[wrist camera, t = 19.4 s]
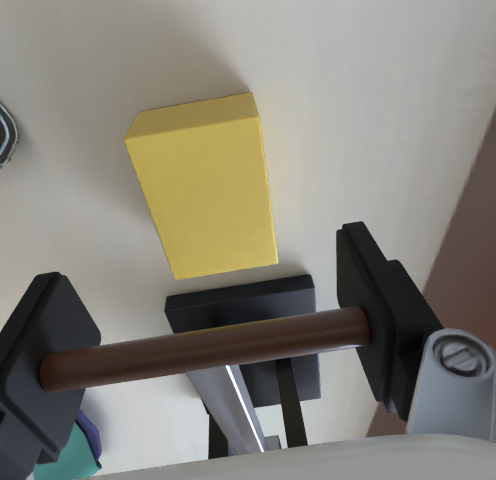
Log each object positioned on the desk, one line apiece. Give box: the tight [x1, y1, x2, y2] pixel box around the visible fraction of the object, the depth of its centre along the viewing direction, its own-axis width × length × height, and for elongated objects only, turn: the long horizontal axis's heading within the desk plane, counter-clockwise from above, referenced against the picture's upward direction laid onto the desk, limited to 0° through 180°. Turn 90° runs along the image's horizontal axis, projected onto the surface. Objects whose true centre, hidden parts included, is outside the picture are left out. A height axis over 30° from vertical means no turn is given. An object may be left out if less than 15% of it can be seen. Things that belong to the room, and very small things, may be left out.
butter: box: [123, 92, 278, 280], centre depth 16 cm, size 5×7×3 cm
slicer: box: [164, 275, 321, 460], centre depth 22 cm, size 12×9×10 cm
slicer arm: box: [39, 306, 371, 455], centre depth 14 cm, size 16×8×2 cm, turn 9°
